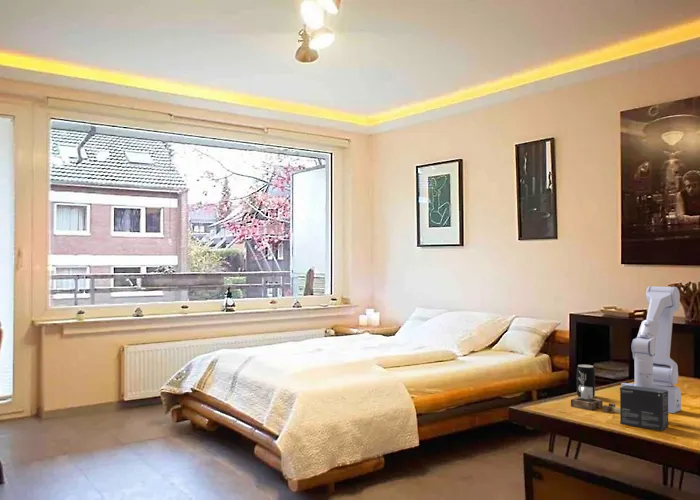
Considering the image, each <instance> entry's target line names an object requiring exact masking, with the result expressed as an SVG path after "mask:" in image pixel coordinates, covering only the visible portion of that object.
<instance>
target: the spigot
mask: <svg viewBox="0 0 700 500" xmlns="http://www.w3.org/2000/svg"><path fill="white" fill-rule="evenodd" d="M593 398H594V397H593V388H592V387H588V386H582V387H581V401H586V402H593Z"/></svg>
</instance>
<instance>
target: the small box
mask: <svg viewBox="0 0 700 500" xmlns="http://www.w3.org/2000/svg"><path fill="white" fill-rule="evenodd" d="M619 393H620V395H619V397H620V399H619V400H620V401H619V405H620V406H619V408H620V413H619V416H620V421H619V423H620V425H624V424H625V425H626V426H630V427H636V428H642V429H643V428H644V429H650V430H655V431H662V432H663V431H665V430H666V429H668V428H669V412H668V390H663V389H655V388H647V387H639V386H631V385H625V386H623V387H621V386H620V387H619ZM625 425H624V426H625Z"/></svg>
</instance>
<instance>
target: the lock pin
mask: <svg viewBox="0 0 700 500" xmlns="http://www.w3.org/2000/svg"><path fill="white" fill-rule="evenodd" d="M610 411H611V412H610V413H614V412H615V413H616V414H620V407H617V406H615V407H612V406H610Z"/></svg>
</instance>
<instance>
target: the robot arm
mask: <svg viewBox="0 0 700 500" xmlns="http://www.w3.org/2000/svg"><path fill="white" fill-rule="evenodd" d="M645 298H646V301H647V304H648V309H647V313H646V314H647V315H646V319H645V320H642V321H641V324H640V326H639V330H638V333H637V336H636V337H635V338H633V339H632V342H631V347H630V348H631V352H632V359H633V360H634V364H633V365H634V383H632V382H631V383H629V382H628V383H627V382H621V384H620V385H621V386H620V387H623V386H625V385H631V386H639V387H647V388H655V389H663V390H668V414H669V413H670V414H675V413H677V412H680V411H682V392H681V388H680V387H679V386H675V385H676V384H677V383H678V381H679V368H678V364H677V362H675V360H674V359H672V358H671V355H670V354H671V348H672V347H671V346H672V335H673V334H672V333H673V321H674V319H673V318H674V315H675V312H678V311H679V308H680V302H681V301H680V300H681V294H680V290H679V288H678V287H677V286H656V285H655V286H652V285H648V287H647V288H646V291H645Z"/></svg>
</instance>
